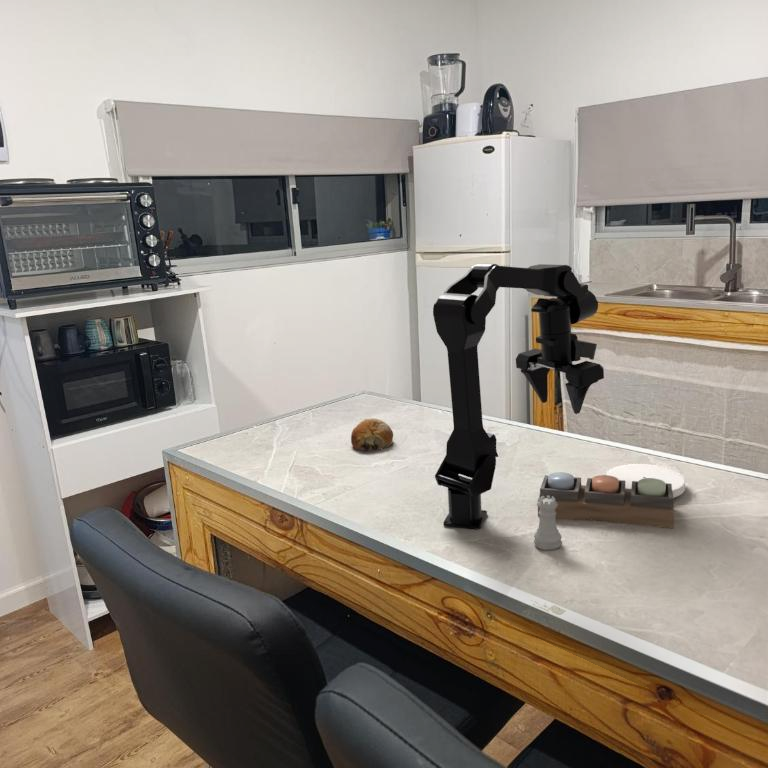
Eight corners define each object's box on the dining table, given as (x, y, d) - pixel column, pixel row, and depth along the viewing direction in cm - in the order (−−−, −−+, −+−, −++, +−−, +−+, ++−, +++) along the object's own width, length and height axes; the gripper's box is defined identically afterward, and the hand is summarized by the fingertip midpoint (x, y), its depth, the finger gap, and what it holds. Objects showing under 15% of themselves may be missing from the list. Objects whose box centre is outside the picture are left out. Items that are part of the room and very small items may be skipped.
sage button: (665, 500, 117) (666, 489, 116) (637, 498, 118) (637, 487, 118) (665, 489, 121) (665, 479, 120) (637, 488, 122) (638, 477, 122)
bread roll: (398, 457, 167) (403, 423, 168) (375, 452, 159) (381, 417, 160) (363, 451, 173) (369, 419, 174) (340, 447, 164) (346, 413, 165)
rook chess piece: (556, 553, 110) (556, 506, 108) (529, 548, 113) (528, 501, 111) (565, 541, 114) (565, 495, 112) (539, 536, 116) (538, 491, 114)
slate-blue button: (572, 493, 122) (572, 482, 122) (546, 491, 124) (546, 480, 123) (574, 483, 126) (574, 473, 126) (549, 481, 128) (549, 471, 127)
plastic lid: (666, 512, 122) (667, 499, 121) (591, 494, 131) (591, 481, 131) (696, 485, 132) (696, 473, 131) (624, 470, 141) (624, 458, 141)
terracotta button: (618, 496, 120) (618, 485, 119) (591, 494, 121) (591, 484, 121) (619, 486, 123) (619, 476, 123) (592, 484, 125) (593, 474, 125)
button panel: (673, 528, 116) (674, 501, 115) (537, 516, 123) (537, 490, 122) (672, 507, 123) (673, 482, 122) (544, 497, 131) (543, 473, 130)
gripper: (624, 327, 129) (626, 407, 134) (554, 315, 145) (558, 386, 150) (578, 342, 124) (583, 424, 129) (511, 327, 140) (517, 401, 145)
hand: (560, 407), depth 138 cm, fingers open, 9 cm apart
